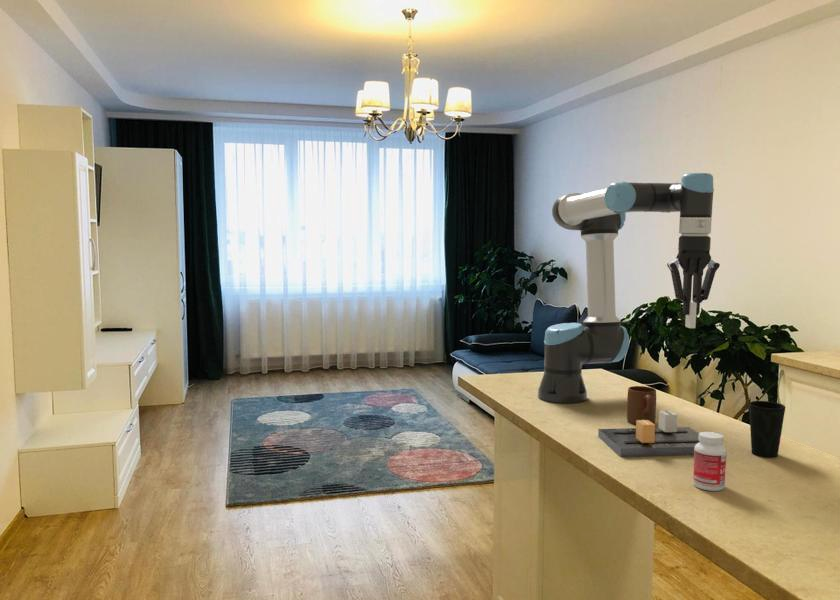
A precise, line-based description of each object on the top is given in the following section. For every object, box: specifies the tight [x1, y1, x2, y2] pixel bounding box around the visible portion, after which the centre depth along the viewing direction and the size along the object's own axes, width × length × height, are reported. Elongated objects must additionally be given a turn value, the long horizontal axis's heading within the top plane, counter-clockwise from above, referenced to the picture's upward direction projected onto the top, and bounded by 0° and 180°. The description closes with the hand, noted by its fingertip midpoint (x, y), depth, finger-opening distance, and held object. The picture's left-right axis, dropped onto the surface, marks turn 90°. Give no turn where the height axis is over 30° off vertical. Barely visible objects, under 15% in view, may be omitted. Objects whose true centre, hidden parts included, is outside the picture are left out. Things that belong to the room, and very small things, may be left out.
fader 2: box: [657, 410, 678, 432], centre depth 175 cm, size 4×3×4 cm
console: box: [597, 426, 700, 458], centre depth 171 cm, size 16×24×2 cm, turn 94°
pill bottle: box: [692, 431, 727, 492], centre depth 143 cm, size 6×6×11 cm
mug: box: [626, 385, 657, 426], centre depth 188 cm, size 12×8×9 cm, turn 179°
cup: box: [748, 400, 786, 459], centre depth 163 cm, size 8×8×12 cm
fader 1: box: [635, 420, 656, 443], centre depth 166 cm, size 4×3×4 cm
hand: (690, 327), depth 177 cm, fingers closed
